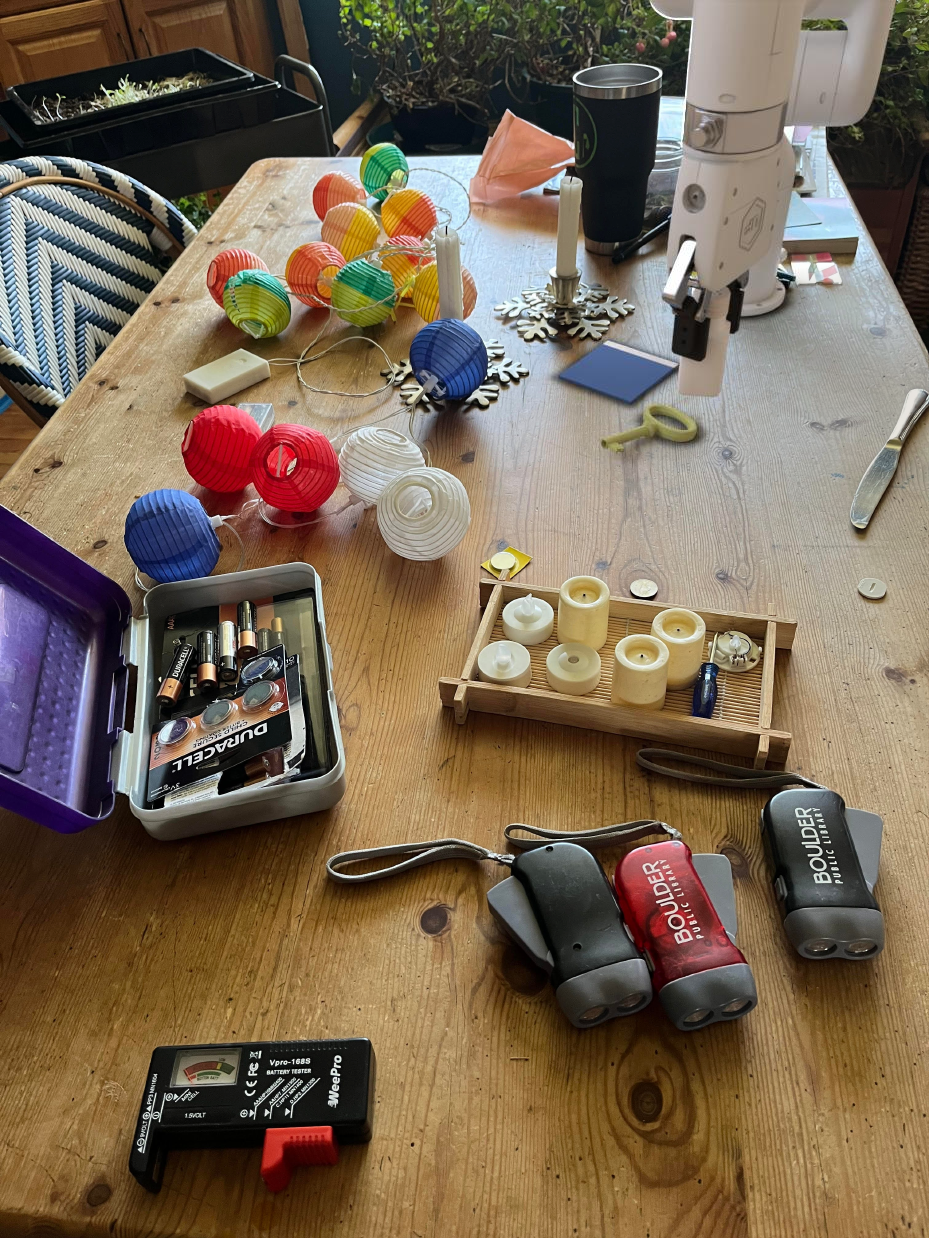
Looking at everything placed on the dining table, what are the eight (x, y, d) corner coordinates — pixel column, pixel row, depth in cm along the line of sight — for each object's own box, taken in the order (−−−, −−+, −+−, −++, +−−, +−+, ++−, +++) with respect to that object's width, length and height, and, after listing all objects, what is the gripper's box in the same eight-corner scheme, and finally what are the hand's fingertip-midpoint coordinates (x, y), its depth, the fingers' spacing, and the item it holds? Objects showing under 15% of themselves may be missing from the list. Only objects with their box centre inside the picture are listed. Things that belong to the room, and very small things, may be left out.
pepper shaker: (680, 374, 84) (690, 280, 77) (722, 377, 83) (736, 281, 76) (675, 397, 82) (686, 301, 75) (719, 400, 81) (734, 303, 74)
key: (596, 456, 98) (596, 440, 97) (654, 407, 104) (656, 391, 103) (650, 478, 95) (652, 462, 93) (708, 426, 101) (710, 410, 99)
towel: (608, 342, 116) (608, 339, 116) (679, 366, 110) (679, 363, 110) (558, 378, 111) (558, 375, 110) (630, 404, 105) (630, 401, 105)
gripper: (719, 170, 60) (691, 398, 73) (831, 97, 68) (788, 314, 81) (627, 152, 64) (616, 372, 77) (744, 85, 72) (716, 294, 85)
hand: (705, 340), depth 79 cm, fingers closed on pepper shaker, 4 cm apart
